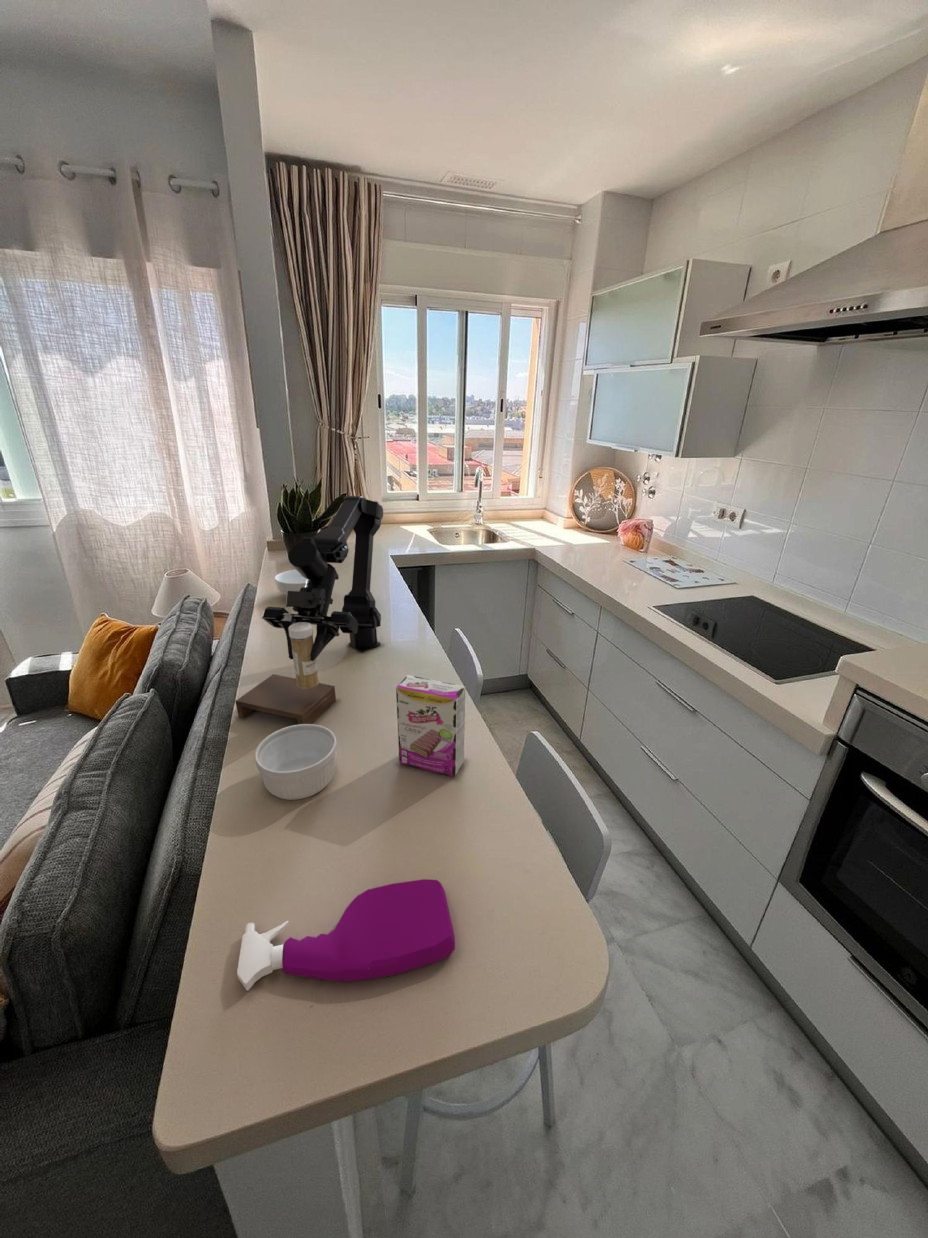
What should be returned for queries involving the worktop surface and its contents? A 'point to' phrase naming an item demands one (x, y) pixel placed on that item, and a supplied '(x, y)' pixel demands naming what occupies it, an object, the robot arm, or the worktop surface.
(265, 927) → the worktop surface
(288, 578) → the cereal bowl
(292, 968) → the spray bottle
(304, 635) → the sprinkles bottle
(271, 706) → the shelf
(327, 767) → the ramekin
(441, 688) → the candy bar box
